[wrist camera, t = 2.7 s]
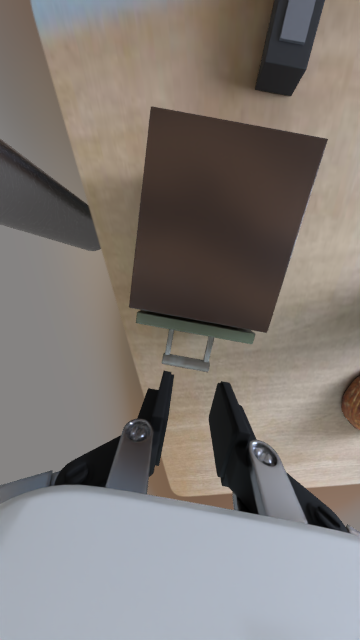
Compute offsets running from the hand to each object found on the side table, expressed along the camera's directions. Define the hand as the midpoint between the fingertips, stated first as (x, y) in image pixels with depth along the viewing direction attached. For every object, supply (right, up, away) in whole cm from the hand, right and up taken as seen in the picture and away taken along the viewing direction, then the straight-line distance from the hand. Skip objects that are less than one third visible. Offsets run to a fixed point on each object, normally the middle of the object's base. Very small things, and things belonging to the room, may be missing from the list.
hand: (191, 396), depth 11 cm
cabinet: (+3, +15, +12) cm, 19 cm away
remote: (+10, +35, +7) cm, 37 cm away
